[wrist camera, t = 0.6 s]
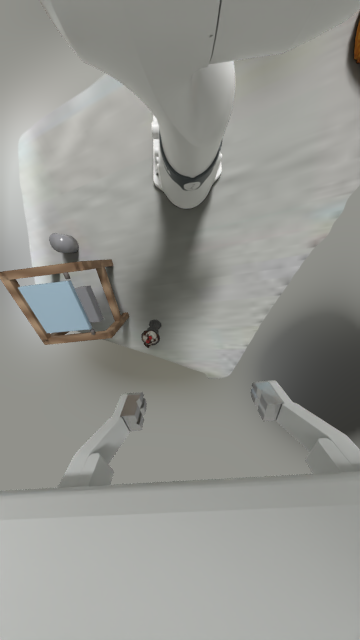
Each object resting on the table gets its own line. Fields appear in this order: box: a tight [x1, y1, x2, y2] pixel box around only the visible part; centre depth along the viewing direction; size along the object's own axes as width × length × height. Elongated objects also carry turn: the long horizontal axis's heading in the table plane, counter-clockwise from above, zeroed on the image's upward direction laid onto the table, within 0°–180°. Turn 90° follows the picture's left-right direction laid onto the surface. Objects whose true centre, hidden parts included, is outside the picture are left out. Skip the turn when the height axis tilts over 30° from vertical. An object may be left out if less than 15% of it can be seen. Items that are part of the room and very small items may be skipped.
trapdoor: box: [18, 281, 104, 333], centre depth 38 cm, size 14×18×2 cm
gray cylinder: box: [49, 233, 79, 253], centre depth 42 cm, size 5×5×5 cm
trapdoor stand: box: [0, 259, 129, 345], centre depth 44 cm, size 22×22×16 cm
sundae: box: [142, 320, 161, 348], centre depth 51 cm, size 7×7×15 cm
